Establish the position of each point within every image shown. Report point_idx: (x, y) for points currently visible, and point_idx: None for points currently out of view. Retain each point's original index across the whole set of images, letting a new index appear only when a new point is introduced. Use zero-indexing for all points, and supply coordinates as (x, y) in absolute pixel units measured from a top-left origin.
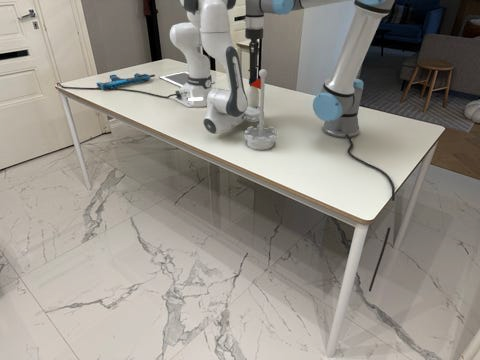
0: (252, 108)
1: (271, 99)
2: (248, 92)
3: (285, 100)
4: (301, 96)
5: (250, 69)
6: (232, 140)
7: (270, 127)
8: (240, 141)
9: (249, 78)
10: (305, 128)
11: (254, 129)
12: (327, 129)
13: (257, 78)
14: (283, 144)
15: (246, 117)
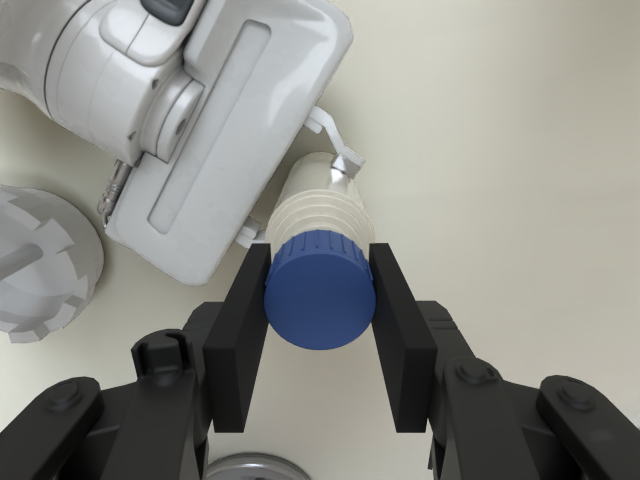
0: (218, 217)
1: (619, 264)
2: (284, 206)
3: (589, 331)
4: (635, 397)
5: (32, 420)
6: (22, 107)
7: (60, 314)
8: (28, 151)
9: (327, 258)
10: (251, 402)
11: (51, 231)
12: (212, 477)
13: (338, 345)
14: (77, 331)
15: (110, 185)
